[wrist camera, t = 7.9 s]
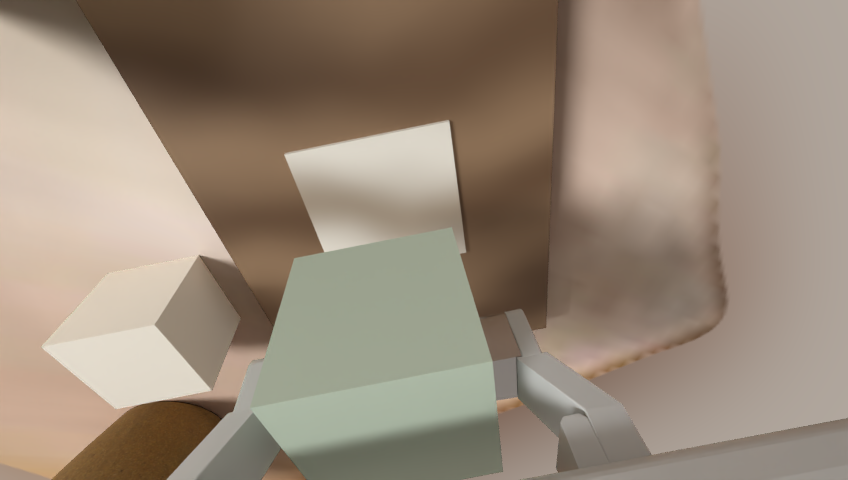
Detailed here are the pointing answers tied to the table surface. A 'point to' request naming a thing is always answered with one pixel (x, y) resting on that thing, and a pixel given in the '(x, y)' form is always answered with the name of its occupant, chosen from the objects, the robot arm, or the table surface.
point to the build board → (354, 127)
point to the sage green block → (381, 366)
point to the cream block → (148, 333)
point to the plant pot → (143, 443)
